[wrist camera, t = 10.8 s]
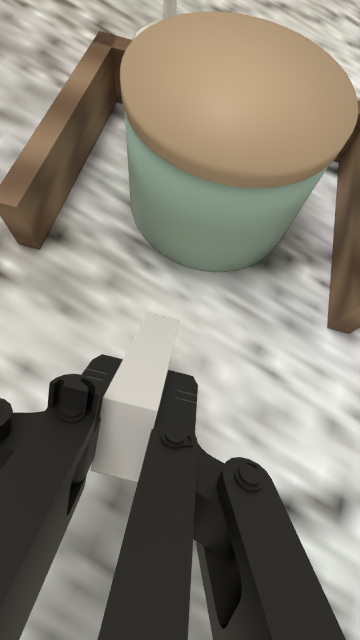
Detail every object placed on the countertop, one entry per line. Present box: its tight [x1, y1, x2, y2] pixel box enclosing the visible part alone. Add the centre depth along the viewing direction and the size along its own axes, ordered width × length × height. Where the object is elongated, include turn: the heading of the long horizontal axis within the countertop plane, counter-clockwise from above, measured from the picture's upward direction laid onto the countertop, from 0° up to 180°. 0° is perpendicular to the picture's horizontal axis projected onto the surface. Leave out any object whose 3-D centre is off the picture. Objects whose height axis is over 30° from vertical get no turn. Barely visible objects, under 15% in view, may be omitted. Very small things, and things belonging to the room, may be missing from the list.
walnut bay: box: [0, 31, 360, 333], centre depth 22 cm, size 18×23×4 cm
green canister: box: [120, 12, 358, 272], centre depth 20 cm, size 12×12×9 cm
